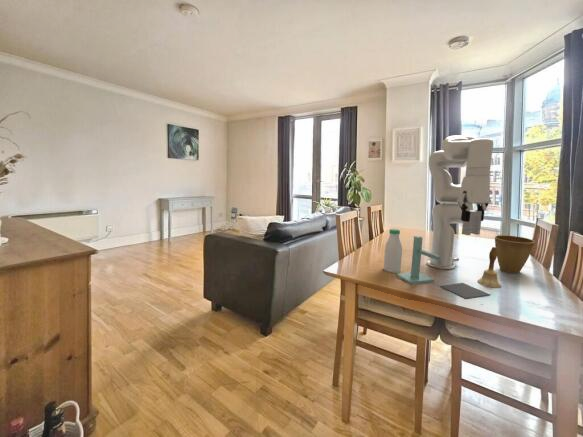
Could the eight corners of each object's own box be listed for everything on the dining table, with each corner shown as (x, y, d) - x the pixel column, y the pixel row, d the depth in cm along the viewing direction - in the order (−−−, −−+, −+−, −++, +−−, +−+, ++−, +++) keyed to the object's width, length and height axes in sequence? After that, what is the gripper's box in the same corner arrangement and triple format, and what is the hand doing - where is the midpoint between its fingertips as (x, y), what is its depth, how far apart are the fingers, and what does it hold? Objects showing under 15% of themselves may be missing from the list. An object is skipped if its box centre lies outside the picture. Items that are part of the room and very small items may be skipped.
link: (473, 233, 108) (476, 210, 106) (479, 234, 105) (482, 211, 104) (461, 233, 106) (464, 210, 105) (467, 235, 104) (470, 211, 102)
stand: (417, 273, 128) (421, 233, 125) (447, 287, 112) (452, 242, 109) (395, 276, 125) (398, 235, 122) (423, 291, 109) (427, 244, 106)
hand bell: (481, 278, 123) (485, 244, 120) (503, 284, 116) (508, 248, 114) (474, 283, 118) (478, 246, 115) (497, 289, 111) (502, 251, 109)
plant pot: (483, 265, 141) (487, 235, 138) (512, 265, 141) (516, 235, 139) (506, 276, 126) (511, 242, 124) (538, 276, 126) (543, 242, 124)
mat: (462, 283, 117) (462, 282, 117) (489, 295, 105) (490, 294, 105) (439, 286, 113) (440, 285, 113) (465, 298, 102) (465, 297, 102)
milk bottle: (401, 273, 128) (405, 231, 125) (384, 272, 129) (387, 230, 126) (398, 268, 135) (401, 228, 132) (382, 267, 137) (385, 227, 134)
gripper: (485, 173, 108) (480, 218, 111) (450, 172, 103) (445, 220, 106) (504, 173, 101) (498, 221, 104) (468, 172, 96) (462, 223, 99)
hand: (472, 220), depth 105 cm, fingers closed on link, 6 cm apart
